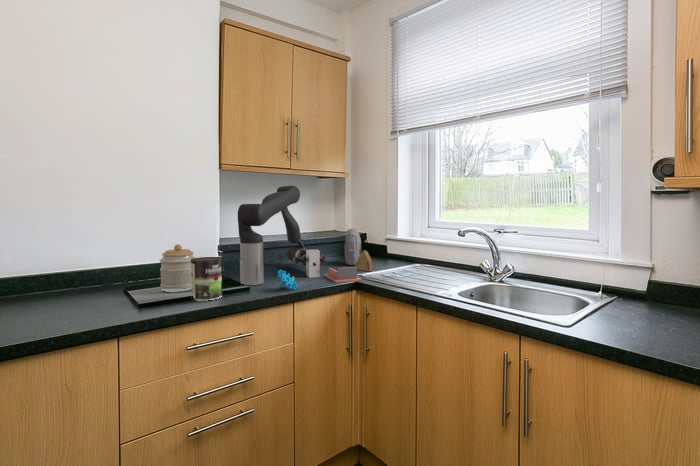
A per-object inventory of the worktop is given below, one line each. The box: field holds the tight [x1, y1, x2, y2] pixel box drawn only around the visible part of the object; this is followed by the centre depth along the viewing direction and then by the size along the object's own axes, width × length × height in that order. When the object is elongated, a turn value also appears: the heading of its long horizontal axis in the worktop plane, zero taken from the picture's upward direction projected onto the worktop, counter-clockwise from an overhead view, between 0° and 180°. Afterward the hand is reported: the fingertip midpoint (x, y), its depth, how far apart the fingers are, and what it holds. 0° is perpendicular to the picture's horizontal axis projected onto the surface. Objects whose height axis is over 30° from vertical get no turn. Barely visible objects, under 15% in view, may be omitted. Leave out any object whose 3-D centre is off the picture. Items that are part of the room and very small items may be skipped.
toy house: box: [354, 249, 374, 272], centre depth 190 cm, size 11×9×10 cm
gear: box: [276, 269, 298, 291], centre depth 149 cm, size 11×6×10 cm
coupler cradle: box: [324, 266, 363, 284], centre depth 169 cm, size 12×16×6 cm
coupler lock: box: [305, 249, 321, 278], centre depth 174 cm, size 5×5×12 cm
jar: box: [159, 243, 196, 289], centre depth 147 cm, size 13×13×18 cm
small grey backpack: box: [344, 227, 363, 266], centre depth 207 cm, size 15×8×20 cm, turn 169°
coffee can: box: [191, 256, 223, 302], centre depth 134 cm, size 10×10×14 cm
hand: (313, 261), depth 173 cm, fingers open, 8 cm apart
